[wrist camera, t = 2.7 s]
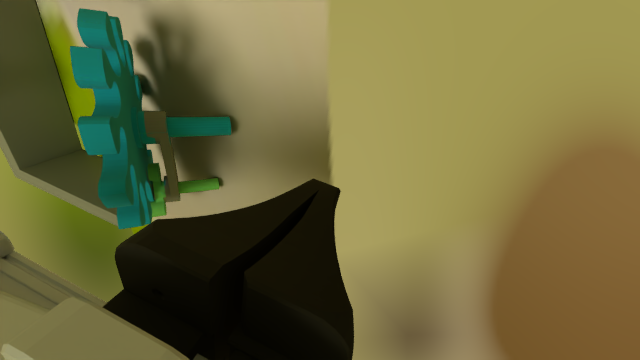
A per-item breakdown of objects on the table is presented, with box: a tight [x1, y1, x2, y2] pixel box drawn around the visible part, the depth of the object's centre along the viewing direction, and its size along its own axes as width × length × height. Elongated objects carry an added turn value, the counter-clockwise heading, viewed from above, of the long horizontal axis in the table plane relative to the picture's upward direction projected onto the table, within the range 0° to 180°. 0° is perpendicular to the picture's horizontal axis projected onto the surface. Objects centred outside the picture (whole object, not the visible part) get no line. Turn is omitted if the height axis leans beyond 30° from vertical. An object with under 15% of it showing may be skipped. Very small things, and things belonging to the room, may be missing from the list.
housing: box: [0, 0, 167, 226], centre depth 16 cm, size 14×11×5 cm
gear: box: [70, 9, 231, 229], centre depth 14 cm, size 11×6×10 cm
